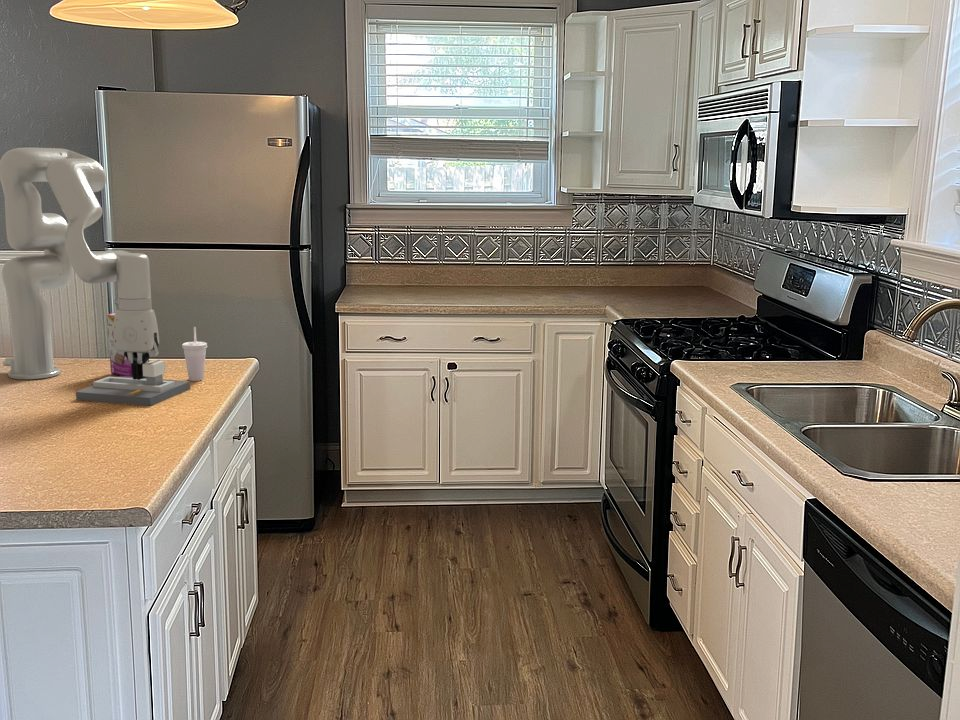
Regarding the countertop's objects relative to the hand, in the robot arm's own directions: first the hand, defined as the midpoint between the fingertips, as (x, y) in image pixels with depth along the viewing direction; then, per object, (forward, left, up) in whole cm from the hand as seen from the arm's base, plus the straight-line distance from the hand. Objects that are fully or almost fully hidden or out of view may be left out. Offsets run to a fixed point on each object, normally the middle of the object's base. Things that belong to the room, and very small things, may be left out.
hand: (139, 378), depth 235 cm
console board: (-2, 0, -4) cm, 4 cm away
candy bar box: (-15, +18, -4) cm, 24 cm away
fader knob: (+4, 0, -2) cm, 5 cm away
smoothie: (+4, +19, -4) cm, 20 cm away
